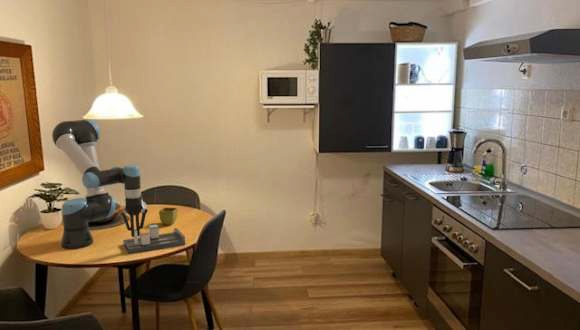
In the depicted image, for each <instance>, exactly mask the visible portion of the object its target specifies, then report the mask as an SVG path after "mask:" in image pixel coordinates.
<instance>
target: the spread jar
mask: <svg viewBox="0 0 580 330" xmlns="http://www.w3.org/2000/svg"><path fill="white" fill-rule="evenodd" d="M140 197H141V202H142V206H143V208H145V209H147V208H148V207H147V203H146V202H145V201H143V196H142V195H141V196H140ZM147 210H148V209H147ZM140 213H143V212H142V211H141V212H140Z"/></svg>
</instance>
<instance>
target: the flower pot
mask: <svg viewBox="0 0 580 330" xmlns="http://www.w3.org/2000/svg"><path fill="white" fill-rule="evenodd" d="M178 208H179V207H162V208H161V209H160V210H158V216H159V219H160V222H161V224H162V225H163V226H164V225H165V226H172V225H174V224H175V222H176V220H177V216H178Z"/></svg>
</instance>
